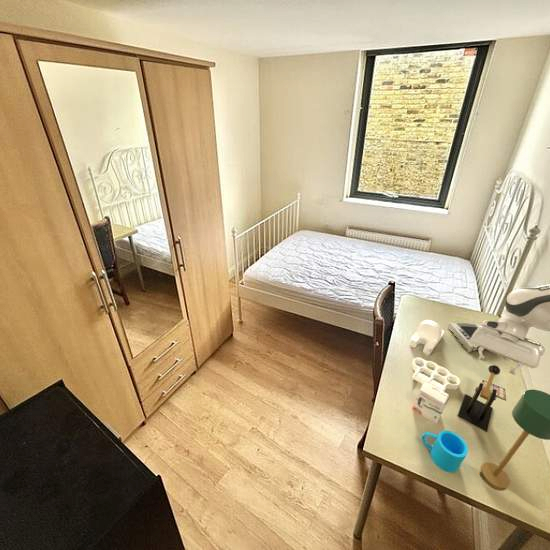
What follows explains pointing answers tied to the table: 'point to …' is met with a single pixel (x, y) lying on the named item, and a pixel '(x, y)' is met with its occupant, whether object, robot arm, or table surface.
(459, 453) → the mug
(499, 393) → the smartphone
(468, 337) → the alarm clock
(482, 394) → the switch lever
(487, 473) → the desk lamp
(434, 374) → the white brass knuckles
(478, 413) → the switch bracket
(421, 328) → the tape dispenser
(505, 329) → the robot arm
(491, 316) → the table surface
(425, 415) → the ink box
